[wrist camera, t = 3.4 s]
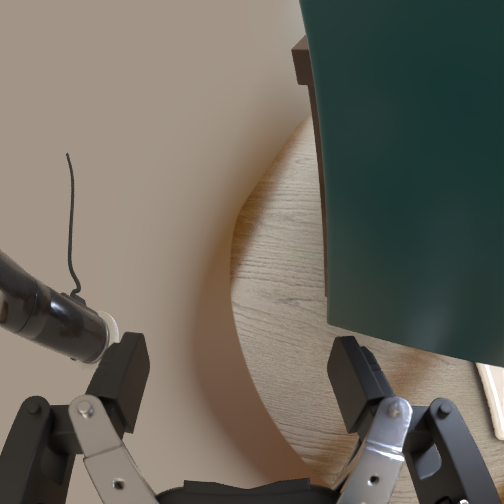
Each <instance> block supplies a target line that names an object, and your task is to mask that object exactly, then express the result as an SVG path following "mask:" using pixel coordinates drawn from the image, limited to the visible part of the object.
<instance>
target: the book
mask: <svg viewBox="0 0 504 504" xmlns="http://www.w3.org/2000/svg"><path fill="white" fill-rule="evenodd" d="M299 3H300V7H301V12H302V17H303V22H304V27H305V32H306V37H307V43H308V48H309V54H310V60H311V67H312V73H313V80H314V87H315V94H316V101H317V109H318V118H319V127H320V136H321V147H322V158H323V170H324V184H325V201H326V222H327V260H328V301H327V323H328V324H329V325H333V326H336V327H340V328H343V329H346V330H350V331H353V332H357V333H360V334H364V335H368V336H371V337H375V338H378V339H382V340H386V341H390V342H393V343H397V344H401V345H405V346H409V347H413V348H417V349H421V350H425V351H429V352H433V353H437V354H441V355H445V356H450V357H454V358H458V359H463V360H468V361H472V362H477V363H482V364H486V365H491V366H496V367H501V368H504V0H299Z"/></svg>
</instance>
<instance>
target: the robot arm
mask: <svg viewBox="0 0 504 504" xmlns="http://www.w3.org/2000/svg"><path fill="white" fill-rule="evenodd" d="M66 156H67V160H68V163H69V168H70V173H71V188H72V190H71V191H72V192H71V211H70V225H69V245H68V265H69V270H70V273H71V275H72V277H73V279H74V281H75V283H76V285H77V289H74V290H73V291H72V292H71V294H70V296H69V295H67V294H66V293H60V294H59V293H58V292H56V291H55V290H53V289H51V288H50V287H48V286H47V285H45V284H44V283H42V282H41V281H39V280H38V279H36V278H35V277H33V276H32V275H31V274H29V273H28V272H26V271H25V270H24V269H23V268H22V267H21V266H19V264H17V263H16V262H15V261H14V260H13V259H12V258H10V257H9V256H8V255H7V254H5V253H4V252H3V251H2V250H1V249H0V326H1V327H2V328H4V329H6V330H8V331H10V332H12V333H14V334H16V335H18V336H20V337H22V338H25V339H27V340H29V341H31V342H33V343H36V344H38V345H40V346H43V347H45V348H47V349H50V350H52V351H55V352H57V353H60V354H62V355H65V356H68V357H70V359H72V360H75V361H76V360H79V361H81V362H83V363H86V364H94V363H96V362H98V361H99V360H100V362H99V364H98V368H97V369H96V371H95V373H94V375H93V377H92V380H91V382H90V384H89V386H88V388H87V391H86V393H85V395H81V396H78V397H77V398H75V399H74V400H73V401H72V402H71V403H70V405H49V403H48V401H47V400H46V399H45V398H43V397H41V396H32V397H29V398H27V399H26V400H25V401H24V402H23V403H22V405H21V407H20V409H19V411H18V413H17V416H16V418H15V420H14V422H13V425H12V427H11V430H10V432H9V434H8V437H7V439H6V442H5V445H4V447H3V450H2V453H1V455H0V504H65V502H66V497H67V492H68V487H69V482H70V477H71V473H72V468H73V465H74V460H75V456H76V454H84V457H85V458H83V462H84V465H85V467H86V469H87V471H88V474H89V476H90V478H91V480H92V482H93V484H94V486H95V488H96V490H97V492H98V494H99V496H100V498H101V500H102V502H103V503H104V504H388V503H389V500H390V498H391V495H392V493H393V490H394V488H395V485H396V482H397V480H398V477H399V474H400V471H401V468H402V465H403V462H404V458H405V460H406V463H407V466H408V469H409V472H410V475H411V478H412V481H413V484H414V488H415V491H416V494H417V497H418V500H419V504H502V503H501V501H500V498H499V495H498V493H497V490H496V488H495V485H494V483H493V480H492V478H491V476H490V473H489V471H488V469H487V467H486V464H485V462H484V460H483V458H482V456H481V454H480V451H479V449H478V447H477V445H476V443H475V441H474V439H473V437H472V435H471V433H470V431H469V429H468V427H467V426H466V424H465V422H464V420H463V418H462V416H461V414H460V412H459V411H458V409H457V407H456V405H455V404H454V403H453V402H452V401H450V400H448V399H446V398H437V399H435V400H434V401H432V403H431V404H430V406H429V407H427V406H411V405H410V403H409V402H408V401H407V400H406V399H404V398H402V397H400V396H395V394H394V392H393V390H392V388H391V386H390V384H389V383H388V381H387V379H386V377H385V375H384V373H383V371H381V368H380V366H379V364H377V360H376V359H375V357H374V355H373V353H372V352H370V351H369V350H368V349H367V348H366V347H365V346H362V347H360V346H359V344H358V342H357V340H356V339H355V337H354V336H342V337H336V338H335V340H334V343H333V347H332V350H331V353H330V357H329V360H328V364H327V372H328V377H329V379H330V382H331V385H332V388H333V391H334V394H335V396H336V399H337V402H338V405H339V408H340V411H341V414H342V417H343V420H344V423H345V426H346V429H347V432H348V434H350V433H355V432H358V435H359V438H358V439H357V441H356V443H355V446H354V448H353V450H352V452H351V454H350V456H349V458H348V460H347V462H346V464H345V466H344V467H343V469H342V471H341V473H340V475H339V476H338V478H337V479H336V481H335V482H334V484H333V485H332V487H331V488H328V487H324V486H320V485H314V484H310V480H309V478H303V479H295V480H286V481H278V482H275V483H271V484H268V485H264V486H260V487H256V488H252V489H242V488H237V487H233V486H228V485H224V484H220V483H216V482H199V481H187V480H184V486H183V487H177V488H172V489H169V490H166V491H164V492H161V493H159V494H158V495H156V493H155V492H154V490H153V489H152V487H151V486H150V485H149V483H148V482H147V480H146V479H145V477H144V476H143V475H142V473H141V471H140V470H139V468H138V466H137V465H136V463H135V462H134V460H133V458H132V456H131V455H130V453H129V451H128V450H127V448H126V446H125V444H124V443H123V441H122V439H123V434H124V432H127V433H132V434H133V431H134V427H135V423H136V419H137V415H138V411H139V407H140V403H141V400H142V396H143V392H144V389H145V385H146V381H147V378H148V375H149V370H150V361H149V356H148V352H147V347H146V343H145V338H144V335H143V334H142V333H133V332H125V333H124V335H123V337H122V339H121V342H120V343H116V342H114V343H112V344H111V345H110V346H109V347H108V345H109V340H110V333H109V328H108V325H107V323H106V321H105V320H104V319H103V318H101V317H99V316H98V313H97V312H95V311H94V310H92V309H90V308H88V307H87V306H86V303H85V300H84V299H82V298H81V297H79V296H77V295H76V293H79V292H80V290H81V286H80V282H79V280H78V279H77V277H76V275H75V273H74V271H73V267H72V261H71V251H72V225H73V208H74V177H73V170H72V165H71V162H70V158H69V155H68V153H67V154H66ZM434 444H435V445H436V447H437V449H436V447H435V445H434ZM437 450H438V452H439V454H440V456H439V454H438V452H437ZM402 453H403V454H402ZM440 457H441V459H440ZM441 460H442V461H441Z"/></svg>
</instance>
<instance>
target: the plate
mask: <svg viewBox="0 0 504 504" xmlns="http://www.w3.org/2000/svg"><path fill="white" fill-rule="evenodd" d="M475 363H476V366H477V369H478V372H479V375H480V378H481V382H482V385H483V388H484V392H485V395H486V399H487V402H488V406H489V410H490V414H491V418H492V423H493V427H494V432H495V436H496V438H497V439H499V440H503V441H504V368H501V367H496V366H491V365H486V364H482V363H477V362H475Z"/></svg>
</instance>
